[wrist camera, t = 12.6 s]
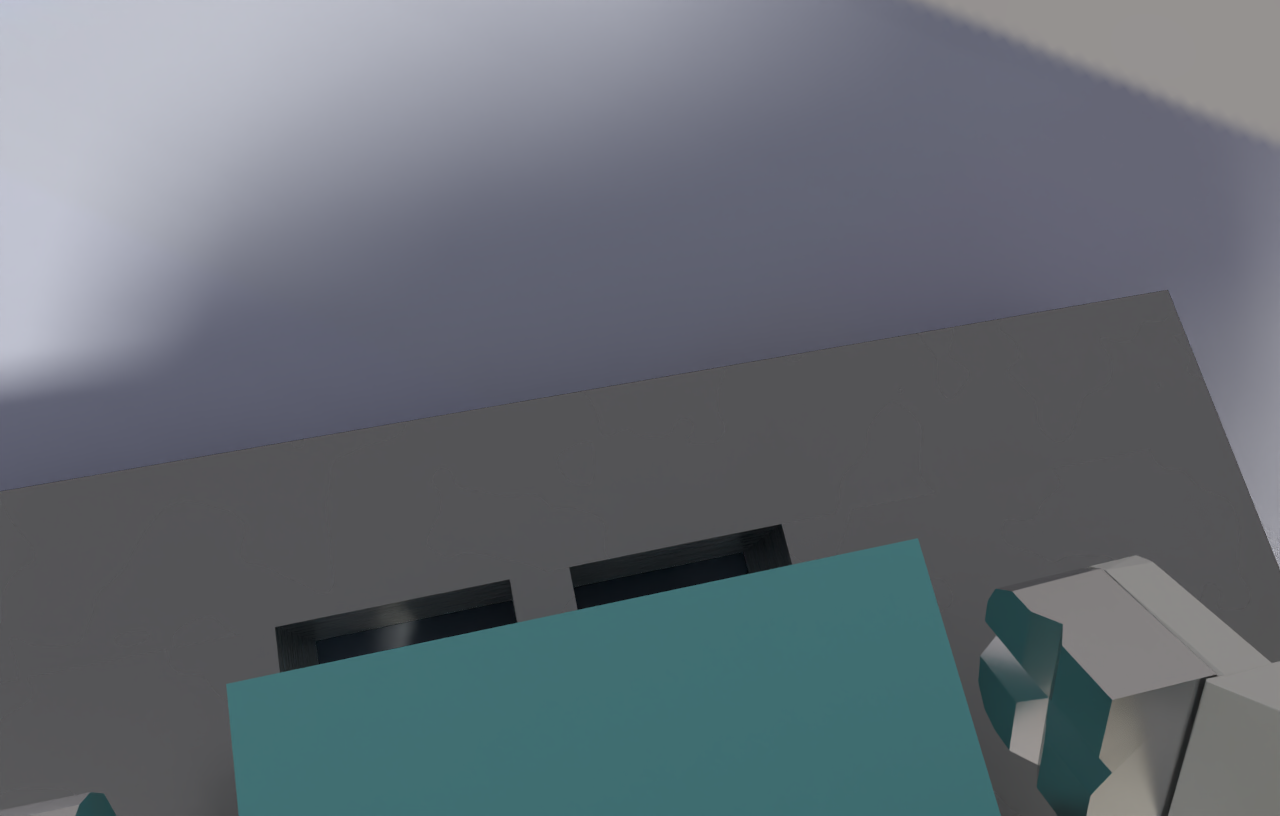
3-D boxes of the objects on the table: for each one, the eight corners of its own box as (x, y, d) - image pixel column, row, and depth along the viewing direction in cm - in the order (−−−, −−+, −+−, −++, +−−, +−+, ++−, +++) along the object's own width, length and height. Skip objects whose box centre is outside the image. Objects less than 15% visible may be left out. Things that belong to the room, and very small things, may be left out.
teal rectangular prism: (712, 629, 15) (918, 538, 7) (758, 829, 14) (1049, 975, 6) (393, 700, 14) (225, 684, 6) (423, 916, 14) (275, 1209, 6)
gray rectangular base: (1081, 346, 18) (1168, 289, 15) (1299, 942, 15) (1447, 986, 12) (-205, 579, 14) (-354, 552, 12) (-225, 1416, 11) (-423, 1605, 9)
